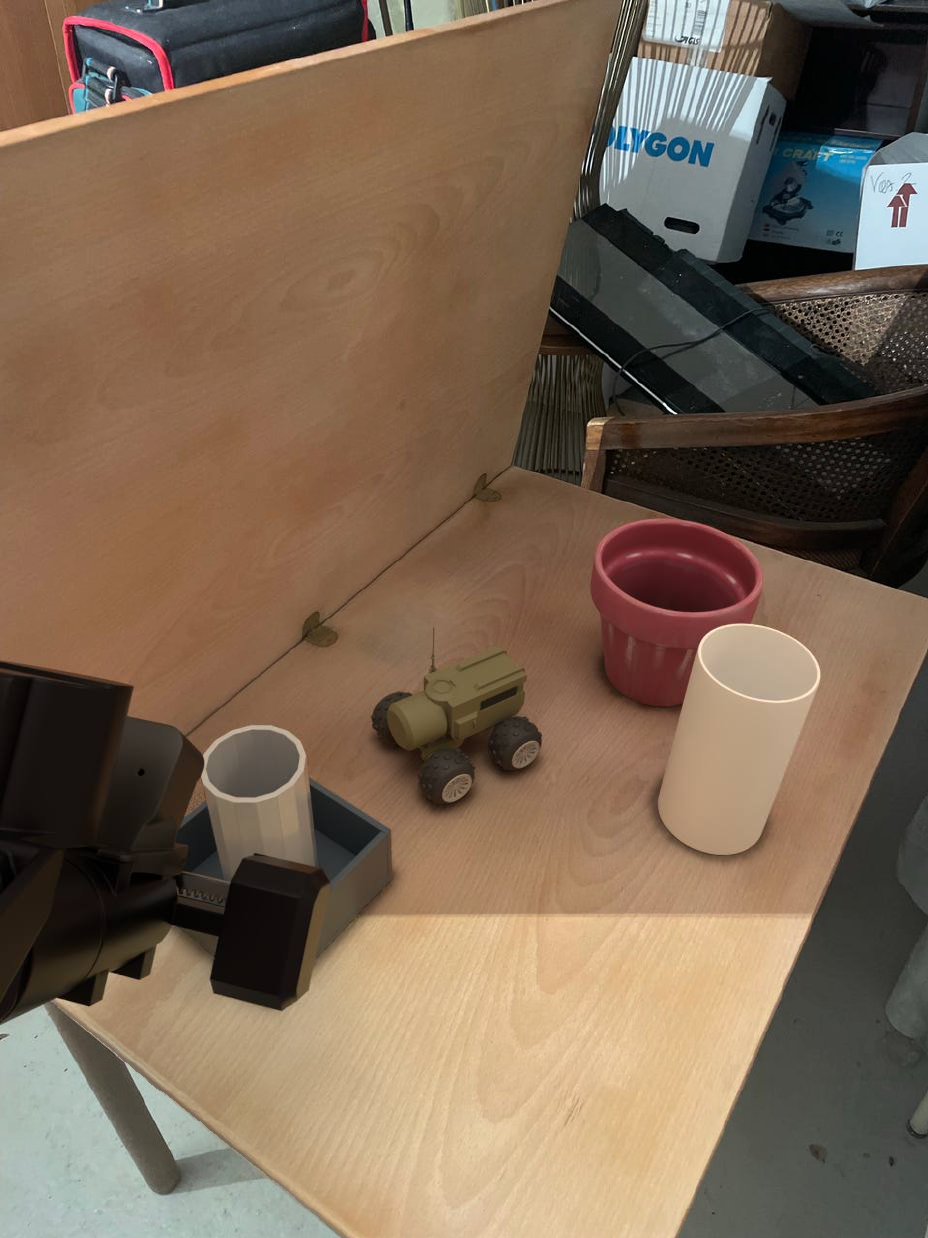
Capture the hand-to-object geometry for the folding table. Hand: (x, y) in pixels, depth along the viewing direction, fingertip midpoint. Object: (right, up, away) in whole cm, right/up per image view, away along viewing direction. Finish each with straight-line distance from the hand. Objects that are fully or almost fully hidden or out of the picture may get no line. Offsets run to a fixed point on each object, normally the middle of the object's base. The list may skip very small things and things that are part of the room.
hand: (203, 871), depth 51 cm
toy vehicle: (+14, +3, +24) cm, 28 cm away
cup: (+34, -1, +20) cm, 40 cm away
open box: (+1, -5, +13) cm, 14 cm away
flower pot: (+33, +9, +33) cm, 47 cm away
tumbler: (+1, -5, +13) cm, 14 cm away
